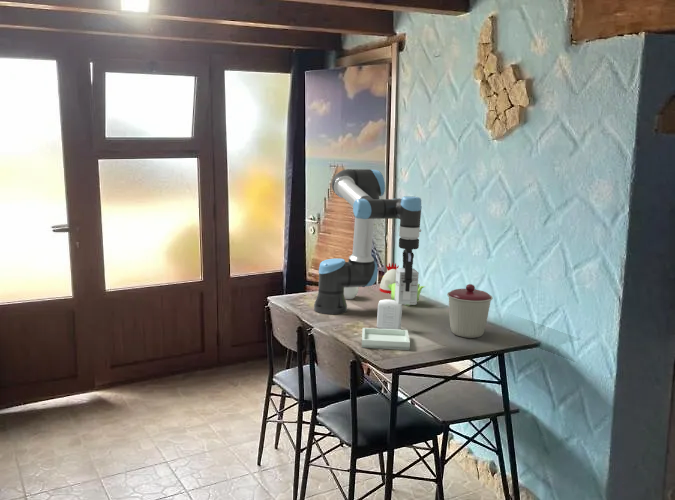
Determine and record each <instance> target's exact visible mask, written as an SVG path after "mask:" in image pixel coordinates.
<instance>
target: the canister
mask: <svg viewBox="0 0 675 500" xmlns="http://www.w3.org/2000/svg"><path fill="white" fill-rule="evenodd" d="M447 297H448V311H449V326H450V330H451V332H452V334H453V335H455V336H457V337H461V338H466V339H467V338H468V339H476V338H479V337H481V336H483V334H484V333H485V330H486V327H487V322H488V317H489V312H490V307H491V301H492V300H493V296H492V295H491V294H490V293H488V292H486V291H484V290H480V289H476V287H475V285H474V284H471V283H469V284H467V285H466V286H465V288H456V289H452V290H451V291H449V292H447Z"/></svg>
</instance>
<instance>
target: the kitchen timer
mask: <svg viewBox="0 0 675 500" xmlns="http://www.w3.org/2000/svg"><path fill="white" fill-rule="evenodd" d="M385 268H386V269H387V271H386V272H385V273H384V275H382V277H381V281H380V284H379V291H380V292H381V293H384V294H388V293H389V295H391V290H390V289H389V288H388V285H389V284H391V285H392V284H393V283H396V268H400V266H399V265H397V263H394V262H392V263H390V262H388V265H387V264H386V265H385Z"/></svg>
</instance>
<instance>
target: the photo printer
mask: <svg viewBox="0 0 675 500" xmlns="http://www.w3.org/2000/svg"><path fill="white" fill-rule="evenodd" d="M402 313H403V304H398V303H397V301H395V300H391V298H390V299H389V298H387V299H380V300H379V301H378V304H377V314H376V315H377V317H376V327H377V329H398V330H402V317H403V314H402Z"/></svg>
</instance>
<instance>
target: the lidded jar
mask: <svg viewBox="0 0 675 500" xmlns="http://www.w3.org/2000/svg"><path fill="white" fill-rule="evenodd" d="M359 289H360V287H344V297H345V300H354V299H355V297H356V296H357V295H358V293H359Z"/></svg>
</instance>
